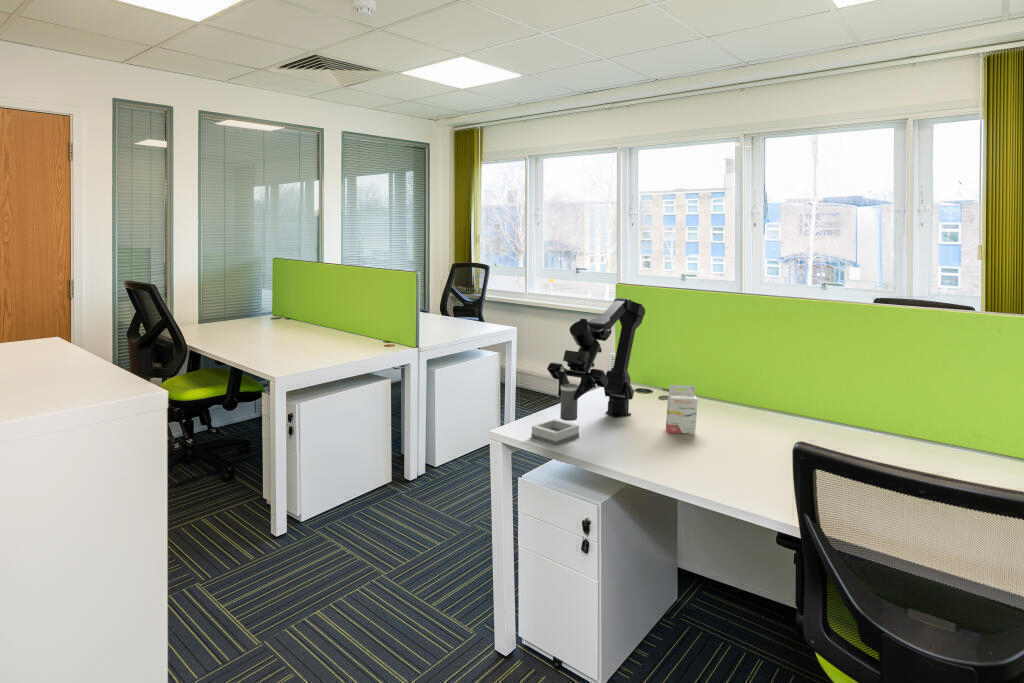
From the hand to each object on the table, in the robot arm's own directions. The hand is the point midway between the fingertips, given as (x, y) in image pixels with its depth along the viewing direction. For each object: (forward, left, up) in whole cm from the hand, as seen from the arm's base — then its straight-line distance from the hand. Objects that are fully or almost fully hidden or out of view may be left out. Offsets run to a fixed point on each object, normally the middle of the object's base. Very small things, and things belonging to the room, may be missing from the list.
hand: (566, 397), depth 183 cm
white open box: (+1, -5, -13) cm, 14 cm away
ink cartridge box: (-38, +8, -14) cm, 41 cm away
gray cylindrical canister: (-1, -1, -7) cm, 7 cm away
